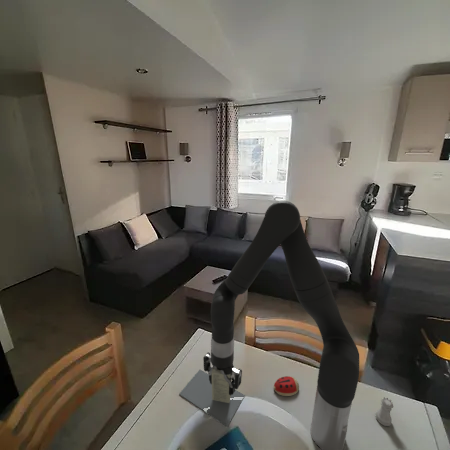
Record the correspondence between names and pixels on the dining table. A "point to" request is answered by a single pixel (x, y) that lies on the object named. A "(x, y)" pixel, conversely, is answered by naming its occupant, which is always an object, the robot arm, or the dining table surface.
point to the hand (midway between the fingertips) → (221, 387)
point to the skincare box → (220, 387)
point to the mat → (210, 398)
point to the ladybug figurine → (286, 386)
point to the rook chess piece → (384, 412)
